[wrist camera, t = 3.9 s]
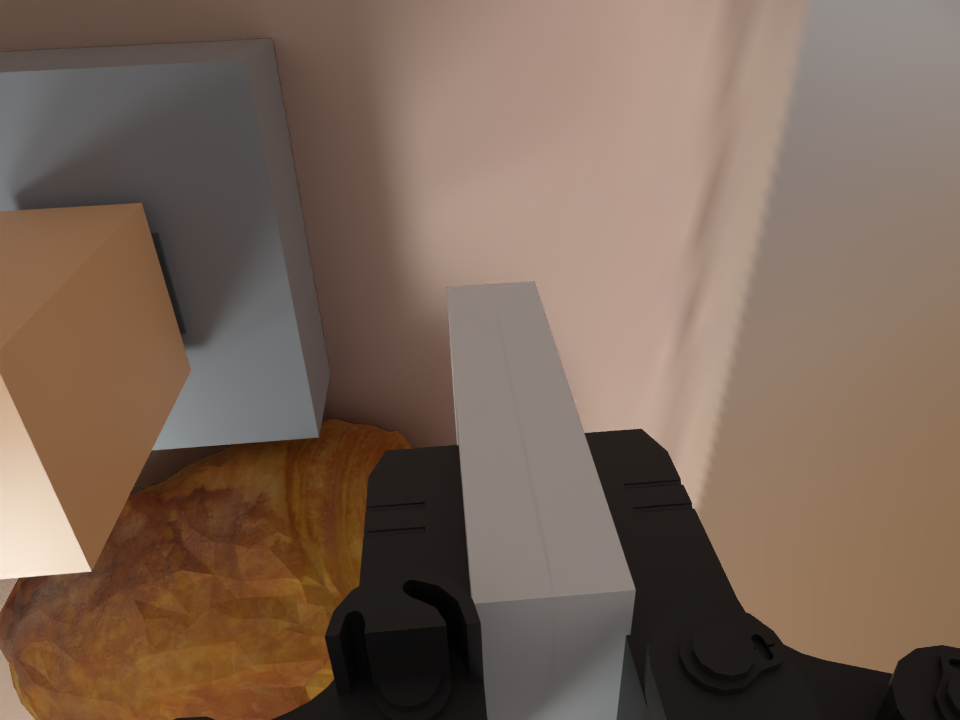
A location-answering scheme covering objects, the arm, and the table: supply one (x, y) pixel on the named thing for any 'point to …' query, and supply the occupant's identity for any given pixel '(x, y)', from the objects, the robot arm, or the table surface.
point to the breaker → (78, 378)
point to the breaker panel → (187, 212)
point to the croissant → (205, 589)
